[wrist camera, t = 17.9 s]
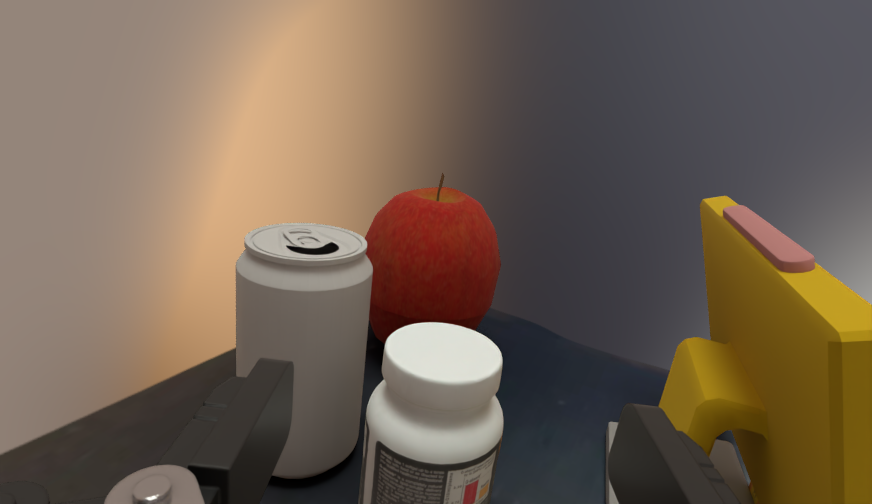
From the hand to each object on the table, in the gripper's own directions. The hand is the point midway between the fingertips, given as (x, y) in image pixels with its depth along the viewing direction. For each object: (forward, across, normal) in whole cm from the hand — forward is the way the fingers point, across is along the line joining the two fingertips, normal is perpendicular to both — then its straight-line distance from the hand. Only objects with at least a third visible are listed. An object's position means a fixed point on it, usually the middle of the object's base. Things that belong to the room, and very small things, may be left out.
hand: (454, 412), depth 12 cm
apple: (+24, +1, +12) cm, 27 cm away
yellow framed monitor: (+10, -14, +12) cm, 21 cm away
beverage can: (+12, +7, +12) cm, 19 cm away
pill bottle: (+7, 0, +12) cm, 14 cm away
